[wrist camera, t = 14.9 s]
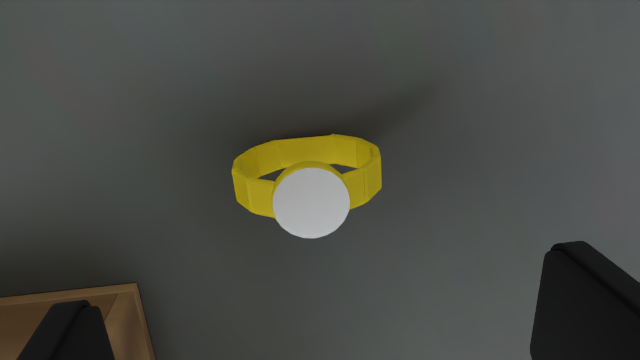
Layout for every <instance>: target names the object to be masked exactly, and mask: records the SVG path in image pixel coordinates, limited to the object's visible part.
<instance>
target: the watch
mask: <svg viewBox="0 0 640 360" xmlns="http://www.w3.org/2000/svg"><path fill="white" fill-rule="evenodd" d="M328 164H339V165H344V166H349V167H354V168H359V169H356V170H353V171H350V172H347V173H344V174H340V173H339V172H338V171H337V170H336V169H334V168H333V167H332V166H330V165H328ZM283 168H287V169H285V170H284V171H283V172H282V173H281V174H280V175H279V176H278V178H277V179H276V181H270V180H264V179H258V178H259V177H261V176H264V175H266V174H269V173H272V172H274V171H277V170H280V169H283ZM232 176H233V182H234V188H235V194H236V200H237V202H239V203H240V204H241V205H242V206H244V207H245V208H246V209H248V210H249V211H250V212H252V213H255V214H257V215H262V216H267V217H272V218H275V219H276V221H277V222H278V223H279V225H280V226H281V227H282V228H283V229H285V230H286V231H288V232H289V233H290V234H292V235H295V236H298V237H301V238H318V237H322V236H326V235H328V234H330V233H331V232H333V231H335V230H336V229H337V228H338V227H339V226H340V225H341V224H342V223H343V222H344V220H345V218H346V216H347V214H348V212H349V210H351V209H353V208H356V207H358V206H361V205H364V204H365V203H367V202H368V201H369V200H370V199H371V198H372V197H373V196H374V195H375V194H376V193H377V192H378V191H379V190H380V189H381V187H382V176H381V156H380V152H379V148H378V147H377V146H376V145H374V144H372V143H370V142H368V141H366V140H364V139H362V138H358V137H352V136H345V135H338V134H336V135H335V134H331V135H327V136H316V137H305V138H293V139H282V140H273V141H270V142H267V143H264V144H261V145H258V146H254V147H253V148H250V149H249V150H247V151H246V152H244V153H243V154H241V155H240V156H238V157H237V158H236V159H235V160H234V162H233V167H232Z"/></svg>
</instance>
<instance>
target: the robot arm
mask: <svg viewBox="0 0 640 360" xmlns="http://www.w3.org/2000/svg"><path fill="white" fill-rule="evenodd" d="M530 354H531V358H532V360H640V283H639V282H638V281H636V280H635V279H634V278H633V277H631V276H630V275H629V274H627V273H626V272H625V271H623V270H622V269H621V268H619V267H618V266H617V265H615V264H614V263H613V262H612V261H610V260H609V259H608V258H606V257H605V256H604V255H602V254H601V253H600V252H598V251H597V250H596V249H594V248H593V247H592V246H591V245H589V244H588V243H586V242H584V241H575V242H566V243H558V244H555V245H553V247H552V248H551V251H549V252H547V253H546V254H545V257H544V262H543V268H542V275H541V281H540V287H539V293H538V300H537V306H536V312H535V319H534V325H533V331H532V338H531V344H530ZM16 360H115V357H114V354H113V350H112V347H111V344H110V340H109V337H108V333H107V330H106V327H105V323H104V320H103V316H102V313H101V310H100V308H99V307H98V306H91V304H90V303H89V302H88V301H87V300H77V301H69V302H60V303H55V304H53V305H52V306H51V307H50V309H49V310H48V312H47V313H46V315H45V316H44V318H43V319H42V321H41V322H40V324H39V325H38V327H37V328H36V330H35V331H34V333H33V335H32V336H31V338H30V339H29V341H28V342H27V344H26V345H25V347H24V348H23V350H22V351H21V353H20V354H19V356H18V357H17V359H16Z"/></svg>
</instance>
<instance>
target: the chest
mask: <svg viewBox="0 0 640 360" xmlns="http://www.w3.org/2000/svg"><path fill="white" fill-rule="evenodd" d="M77 300H87V301H88V302H89V303H90V304H91V306H98V307H99V308H100V310H101V313H102V316H103V320H104V323H105V327H106V330H107V333H108V337H109V340H110V344H111V347H112V350H113V354H114V357H115V360H156V359H155V355H154V351H153V347H152V343H151V339H150V335H149V331H148V327H147V323H146V319H145V315H144V311H143V307H142V303H141V299H140V294H139V290H138V286H137V283H130V284H121V285H112V286H103V287H94V288H85V289H75V290H66V291H57V292H48V293H39V294H30V295H21V296H11V297H2V298H0V360H16V359H17V357H18V356H19V354H20V353H21V351H22V350H23V348H24V347H25V345H26V344H27V342H28V341H29V339H30V338H31V336H32V335H33V333H34V331H35V330H36V328H37V327H38V325H39V324H40V322H41V321H42V319H43V318H44V316H45V315H46V313H47V312H48V310H49V309H50V307H51V306H52V305H53V304H55V303H60V302H69V301H77Z"/></svg>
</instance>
